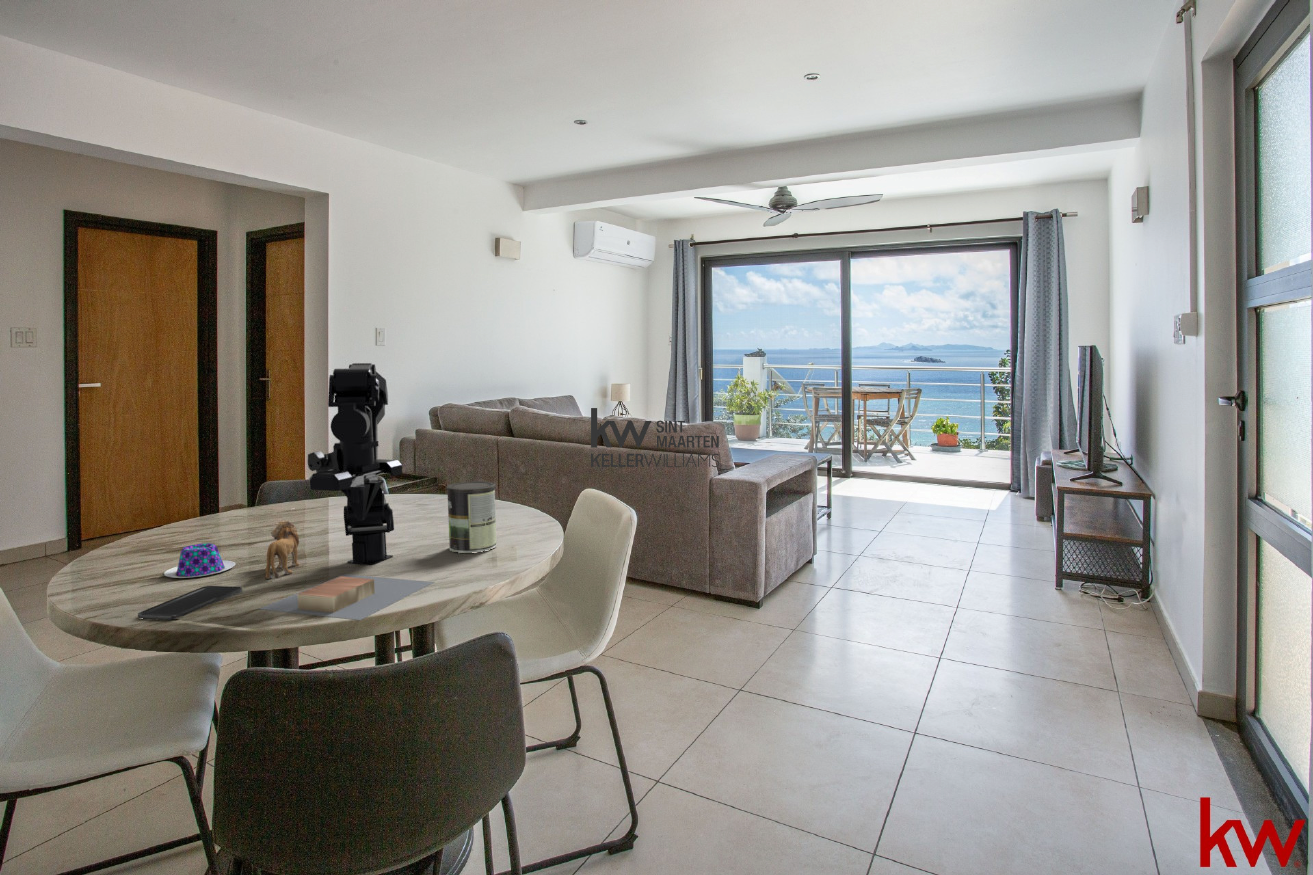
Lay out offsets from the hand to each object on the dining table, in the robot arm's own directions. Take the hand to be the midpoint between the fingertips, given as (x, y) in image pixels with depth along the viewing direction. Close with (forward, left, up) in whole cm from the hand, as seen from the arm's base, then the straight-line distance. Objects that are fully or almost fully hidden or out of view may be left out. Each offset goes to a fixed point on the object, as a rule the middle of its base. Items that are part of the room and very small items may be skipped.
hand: (361, 519), depth 131 cm
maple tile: (+7, +5, -10) cm, 13 cm away
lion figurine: (-1, -21, -12) cm, 24 cm away
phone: (+19, -19, -12) cm, 30 cm away
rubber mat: (+9, +5, -12) cm, 15 cm away
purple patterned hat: (+3, -36, -12) cm, 39 cm away
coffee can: (-26, +8, -12) cm, 30 cm away
